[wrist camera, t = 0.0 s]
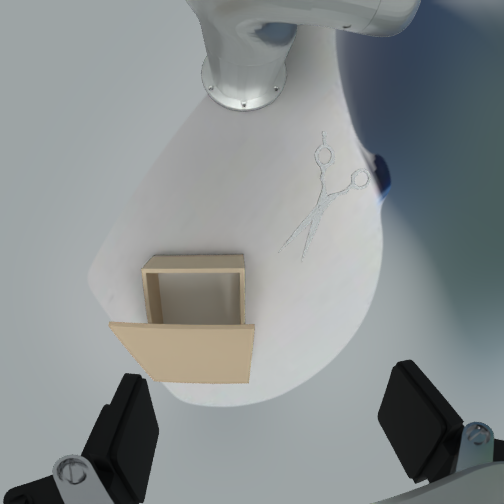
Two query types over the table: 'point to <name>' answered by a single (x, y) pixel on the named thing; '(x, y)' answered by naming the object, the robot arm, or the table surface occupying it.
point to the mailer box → (195, 289)
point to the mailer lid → (190, 351)
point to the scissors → (324, 196)
